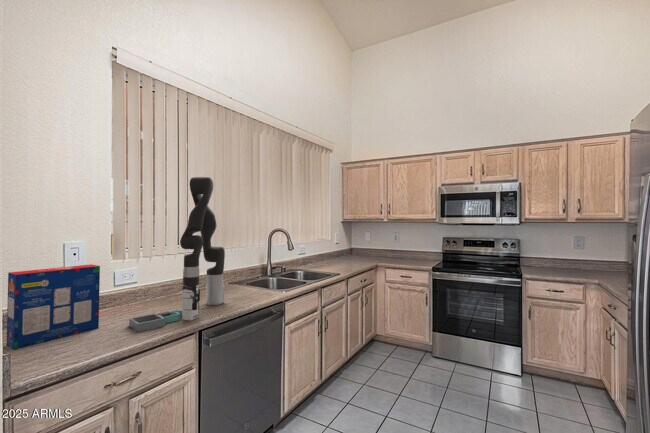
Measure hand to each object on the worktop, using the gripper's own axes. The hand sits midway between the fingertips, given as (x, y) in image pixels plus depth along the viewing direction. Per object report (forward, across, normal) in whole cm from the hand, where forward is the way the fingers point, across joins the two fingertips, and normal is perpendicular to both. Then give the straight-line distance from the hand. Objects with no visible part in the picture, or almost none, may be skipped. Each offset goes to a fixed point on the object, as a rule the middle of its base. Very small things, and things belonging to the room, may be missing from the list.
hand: (190, 308), depth 159 cm
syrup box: (+5, 0, 0) cm, 5 cm away
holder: (+5, +3, +19) cm, 20 cm away
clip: (+5, +4, +9) cm, 11 cm away
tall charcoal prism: (+5, +10, +9) cm, 14 cm away
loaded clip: (+5, +8, +2) cm, 10 cm away
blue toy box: (+5, +16, +50) cm, 52 cm away
